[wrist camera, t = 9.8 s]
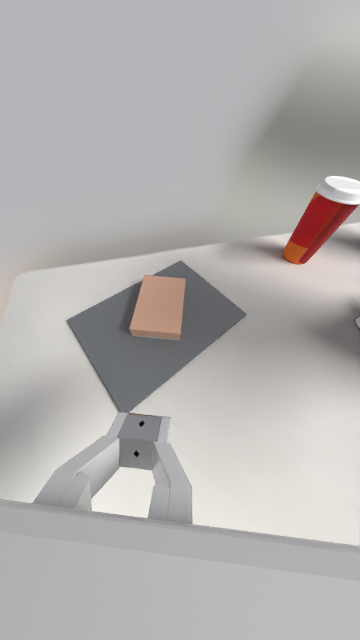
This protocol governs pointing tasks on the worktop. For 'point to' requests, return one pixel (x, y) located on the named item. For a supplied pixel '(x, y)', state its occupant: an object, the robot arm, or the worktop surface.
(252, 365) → the worktop surface
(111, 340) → the mat
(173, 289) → the tile
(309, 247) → the coffee cup
